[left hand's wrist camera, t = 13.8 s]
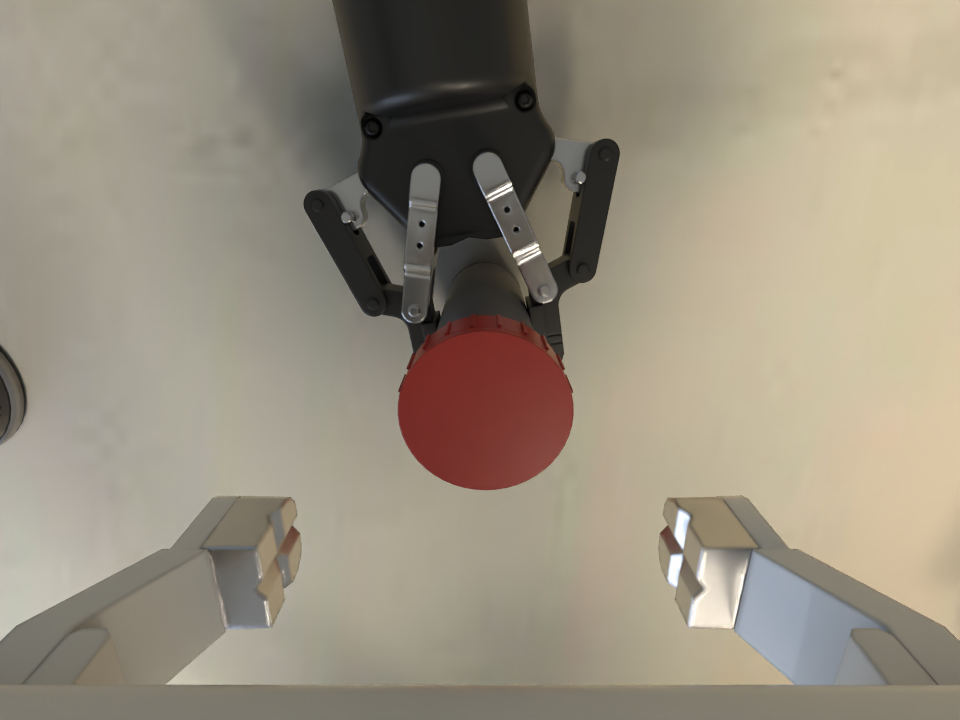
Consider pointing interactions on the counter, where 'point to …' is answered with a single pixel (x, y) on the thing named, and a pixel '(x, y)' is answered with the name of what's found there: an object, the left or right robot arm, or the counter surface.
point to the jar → (484, 295)
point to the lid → (485, 403)
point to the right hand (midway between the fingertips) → (492, 378)
